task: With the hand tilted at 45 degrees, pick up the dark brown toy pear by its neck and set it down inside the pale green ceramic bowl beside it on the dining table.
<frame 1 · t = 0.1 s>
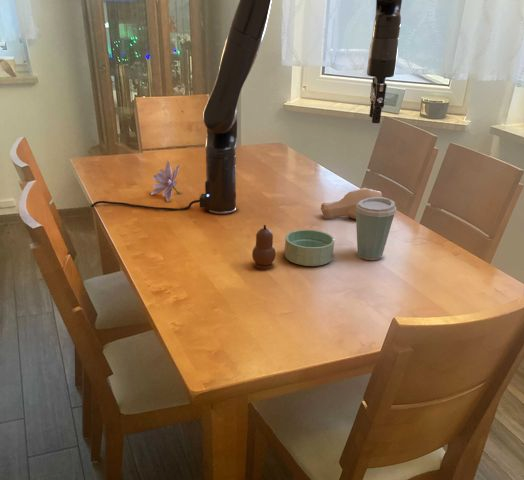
hand: (374, 120, 158), 29 cm above the table, tool pointing down, fingers open, 8 cm apart
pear: (263, 266, 141), on the table
bowl: (308, 257, 146), on the table
disposable coffee cup: (368, 256, 149), on the table
water lily: (165, 196, 186), on the table
squash: (351, 218, 174), on the table
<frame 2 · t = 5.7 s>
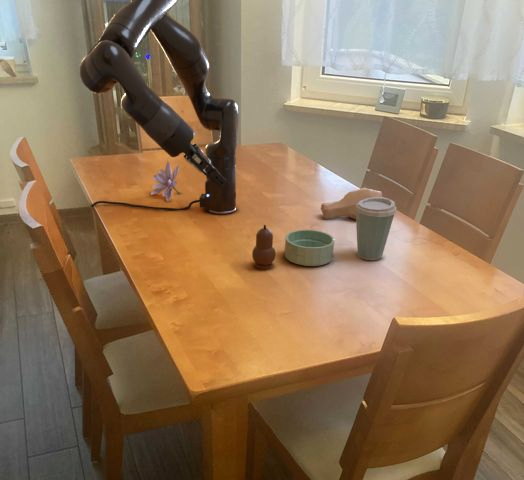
hand: (220, 180, 125), 23 cm above the table, tool tilted 45°, fingers open, 8 cm apart
nothing on the table moved.
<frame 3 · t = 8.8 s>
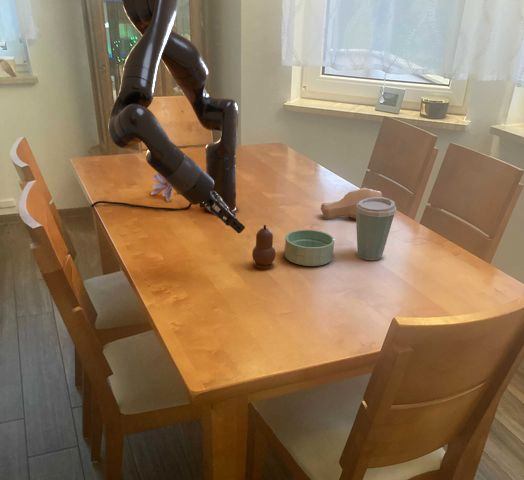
hand: (237, 224, 132), 12 cm above the table, tool tilted 45°, fingers open, 8 cm apart
nothing on the table moved.
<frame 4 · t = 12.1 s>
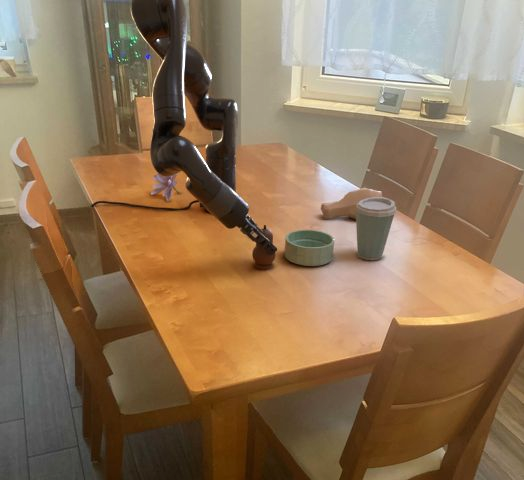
hand: (270, 247, 139), 5 cm above the table, tool tilted 45°, fingers closed on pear, 5 cm apart
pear: (263, 266, 141), on the table, touching gripper
everything else where it was.
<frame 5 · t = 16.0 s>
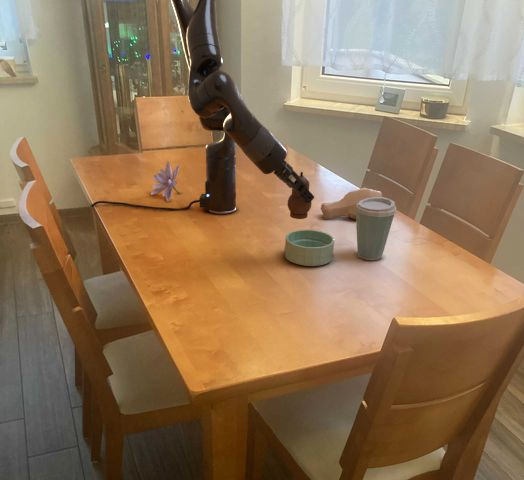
hand: (306, 196, 136), 17 cm above the table, tool tilted 45°, fingers closed on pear, 5 cm apart
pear: (298, 216, 138), point 12 cm above the table, touching gripper
everything else where it was.
when the fingers open (6 cm above the table, at t = 20.2 s): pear stays where it is, resting on bowl.
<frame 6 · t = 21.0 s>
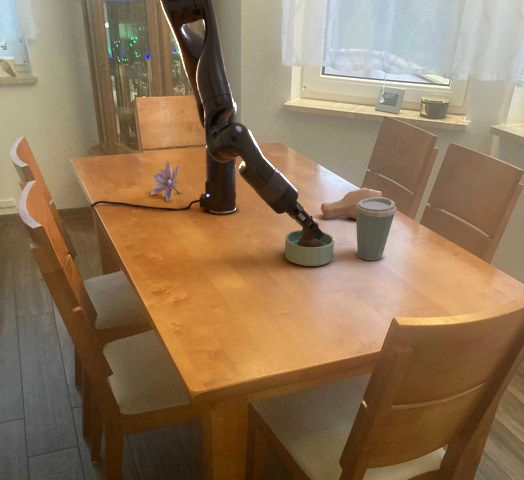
hand: (315, 231, 142), 7 cm above the table, tool tilted 45°, fingers open, 8 cm apart
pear: (308, 255, 146), point 1 cm above the table, touching bowl
everything else where it was.
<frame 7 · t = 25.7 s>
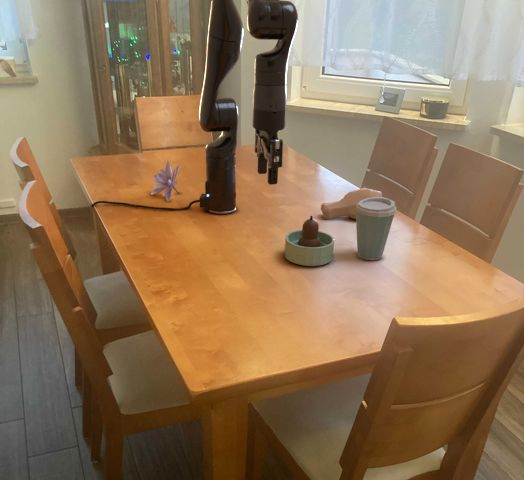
hand: (267, 178, 131), 22 cm above the table, tool pointing down, fingers open, 8 cm apart
nothing on the table moved.
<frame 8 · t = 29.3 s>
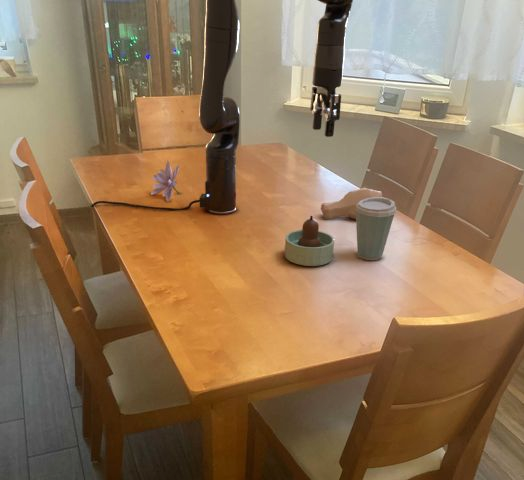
hand: (322, 132, 146), 28 cm above the table, tool pointing down, fingers open, 8 cm apart
nothing on the table moved.
at the end: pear inside the target area in the bowl (0.1 cm from its centre), point 0.6 cm above the bowl's base; the gripper is holding nothing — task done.
